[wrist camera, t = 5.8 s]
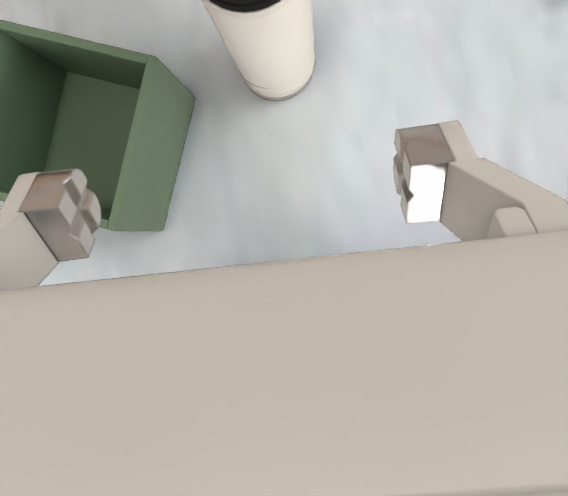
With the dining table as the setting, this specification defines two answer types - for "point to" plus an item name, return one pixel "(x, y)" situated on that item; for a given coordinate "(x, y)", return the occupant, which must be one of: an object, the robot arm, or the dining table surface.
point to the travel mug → (268, 43)
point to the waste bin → (92, 121)
